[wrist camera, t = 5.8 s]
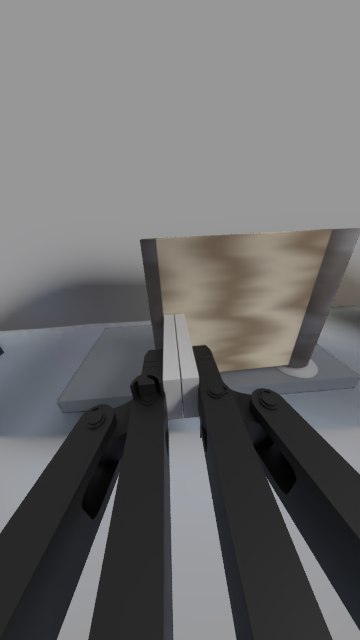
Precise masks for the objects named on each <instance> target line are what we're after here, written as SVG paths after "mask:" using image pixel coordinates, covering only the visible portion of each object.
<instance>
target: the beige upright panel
mask: <svg viewBox="0 0 360 640" xmlns="http://www.w3.org/2000/svg"><path fill="white" fill-rule="evenodd" d="M359 235H360V228H348V229H325V230H324V229H323V230H309V231H290V232H269V233H250V234H231V235H211V236H192V237H174V238H154V239H141V240H140V243H141V251H142V258H143V265H144V272H145V280H146V287H147V293H148V300H149V308H150V315H151V323H152V330H153V337H154V344H155V350H156V349H163V346H164V315H172V314H174V321H175V314H184V315H185V319H186V323H187V328H188V332H189V336H190V340H191V345H192V346H198V345H206V346H207V347H208V348H209V349H211V352H212V354H213V357H214V360H215V362H216V365H217V367H218V370H219V372H225V371H234V370H244V369H253V368H263V367H273V366H282V365H290V366H292V367H297V368H303V367H306V366H307V365H308V363H309V361H310V358H311V356H312V353H313V350H314V348H315V345H316V343H317V340H318V338H319V335H320V333H321V330H322V328H323V325H324V323H325V320H326V318H327V315H328V313H329V310H330V308H331V305H332V303H333V300H334V298H335V295H336V293H337V290H338V288H339V285H340V283H341V280H342V277H343V275H344V273H345V270H346V267H347V265H348V263H349V260H350V258H351V255H352V253H353V250H354V247H355V245H356V243H357V240H358V237H359ZM175 331H176V329H175Z"/></svg>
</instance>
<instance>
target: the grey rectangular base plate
mask: <svg viewBox="0 0 360 640" xmlns="http://www.w3.org/2000/svg"><path fill="white" fill-rule="evenodd" d="M148 350H155V344H154V337H153V330H152V325H146V326H132V327H118V328H105V330H104V331H103V333H102V334H101V336H100V337H99V339H98V340H97V342H96V343H95V345H94V346H93V348H92V350H91V351H90V353H89V354H88V356H87V357H86V359H85V360H84V362H83V363H82V365H81V366H80V368H79V369H78V371H77V372H76V374H75V375H74V377H73V378H72V380H71V381H70V383H69V384H68V386H67V388H66V389H65V391H64V392H63V394H62V395H61V397H60V398H59V400H58V401H57V403H58V405H59V407H60V408H61V410H62V412H63V413H68V412H79V411H88V410H89V409H90V408H92V407H94V406H97V405H99V404H107V405H109V406H111V407H112V409H113V408H115V407H118V406H121V405H123V404H125V403H127V402H129V401H130V400H132V399H133V397H132V393H131V389H130V385H131V382H132V381H133V380H134V379H135V378H136V377H137V376H139V375H141V373H142V368H143V363H144V356H145V354H146V353H147V352H148ZM220 375H221V378H222V380H223V382H224V383H225V384H226V385H227V386H228V387H229V388H230V389H232V390H234V391H236V392H240V393H245V394H251V395H252V392H253V391H254V390H256V389H259V388H265V389H270V390H272V391H274V392H276V393H277V394H287V393H299V392H310V391H322V390H333V389H345V388H354V387H355V385H356V384H357V382H358V380H359V379H360V376H359V375H358V374H357V373H355V372H354V371H353V370H351V369H350V368H349V367H347V366H346V365H345V364H343V363H342V362H341V361H339V360H338V359H337V358H335V357H334V356H333V355H331V354H330V353H328V352H327V351H326V350H324V349H323V348H322V347H320V346H319V345H318V344H316V345H315V348H314V350H313V353H312V356H311V358H310V361H309V363H308V365H307V366H306V367H303V368H297V367H292V366H290V365H282V366H273V367H263V368H253V369H244V370H234V371H225V372H220ZM181 397H182V394H181Z"/></svg>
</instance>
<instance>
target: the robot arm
mask: <svg viewBox="0 0 360 640" xmlns="http://www.w3.org/2000/svg"><path fill="white" fill-rule="evenodd" d="M175 329H176V331H175ZM130 389H131V393H132V397H133V399H132V400H130V401H129V402H127V403H125V404H123V405H121V406H118V407H115V408H113V409H112V407H111V406H109V405H107V404H99V405H97V406H94V407H92V408H90V409H89V410H88V411H86V412H85V413H84V414H83V416H82V417H81V418H80V419H79V421H78V422H77V424H76V425H75V427H74V428H73V430H72V431H71V432H70V434H69V435H68V437H67V438H66V440H65V441H64V443H63V444H62V445H61V447H60V448H59V450H58V451H57V453H56V454H55V455H54V457H53V459H52V460H51V461H50V463H49V464H48V465H47V467H46V468H45V470H44V471H43V473H42V474H41V476H40V477H39V479H38V480H37V481H36V483H35V484H34V486H33V487H32V489H31V490H30V491H29V493H28V494H27V496H26V497H25V499H24V500H23V501H22V503H21V504H20V506H19V507H18V509H17V510H16V512H15V513H14V515H13V516H12V517H11V519H10V520H9V522H8V523H7V525H6V526H5V527H4V529H3V530H2V532H1V533H0V640H57V637H58V634H59V632H60V629H61V626H62V624H63V621H64V619H65V616H66V613H67V610H68V608H69V605H70V603H71V600H72V597H73V595H74V592H75V589H76V587H77V584H78V581H79V579H80V576H81V573H82V570H83V568H84V565H85V563H86V560H87V557H88V555H89V552H90V549H91V546H92V544H93V541H94V539H95V536H96V533H97V531H98V528H99V526H100V523H101V520H102V517H103V515H104V512H105V510H106V507H107V504H108V501H109V499H110V496H111V494H112V491H113V488H114V486H115V483H116V480H117V478H118V475H119V479H118V484H117V490H116V495H115V500H114V506H113V511H112V517H111V522H110V527H109V532H108V538H107V543H106V548H105V554H104V559H103V564H102V570H101V575H100V581H99V586H98V592H97V597H96V602H95V608H94V613H93V618H92V623H91V629H90V634H89V639H88V640H173V610H172V564H171V522H170V521H171V520H170V519H171V518H170V472H169V431H168V420H170V419H180V418H183V414H184V418H190V417H199V416H200V438H202V441H203V446H204V452H205V458H206V464H207V470H208V475H209V482H210V487H211V493H212V499H213V505H214V511H215V516H216V522H217V528H218V534H219V540H220V545H221V551H222V557H223V563H224V569H225V574H226V580H227V586H228V592H229V598H230V604H231V609H232V614H233V621H234V627H235V633H236V638H237V640H332V637H331V635H330V632H329V630H328V627H327V625H326V623H325V620H324V618H323V615H322V613H321V610H320V608H319V605H318V603H317V600H316V598H315V596H314V593H313V591H312V588H311V586H310V583H309V581H308V578H307V576H306V573H305V571H304V569H303V566H302V564H301V561H300V559H299V556H298V554H297V552H296V549H295V546H294V544H293V542H292V539H291V537H290V534H289V532H288V529H287V527H286V524H285V522H284V520H283V517H282V515H281V512H280V510H279V507H278V505H277V502H276V500H275V497H274V495H273V493H272V490H271V488H270V486H269V483H268V480H269V482H270V484H271V485H272V487H273V489H274V490H275V492H276V494H277V495H278V497H279V499H280V500H281V502H282V503H283V505H284V507H285V508H286V510H287V512H288V513H289V515H290V516H291V518H292V520H293V522H294V523H295V525H296V526H297V528H298V530H299V531H300V533H301V535H302V536H303V538H304V540H305V541H306V543H307V544H308V546H309V548H310V550H311V551H312V553H313V554H314V556H315V558H316V559H317V561H318V563H319V564H320V566H321V568H322V569H323V571H324V573H325V574H326V576H327V577H328V579H329V581H330V582H331V584H332V586H333V587H334V589H335V591H336V592H337V594H338V596H339V597H340V599H341V600H342V602H343V604H344V605H345V607H346V609H347V610H348V612H349V614H350V615H351V617H352V619H353V620H354V622H355V624H356V625H357V627H358V628H359V630H360V474H359V473H358V472H357V471H356V470H354V469H353V467H352V466H351V465H350V464H349V463H348V462H347V461H346V460H344V459H343V457H342V456H341V455H339V454H338V453H337V452H336V451H335V450H334V449H333V448H332V447H331V446H330V445H329V444H328V443H327V442H326V441H325V440H324V439H323V438H322V437H321V436H320V435H319V434H318V433H317V432H316V431H315V430H314V429H313V428H312V427H311V426H310V425H309V424H308V423H307V422H306V421H305V420H304V419H303V418H302V417H301V416H300V415H299V414H298V413H297V412H296V411H295V410H294V409H293V408H292V407H291V406H290V405H289V404H288V403H287V402H286V401H285V400H284V399H283V398H282V397H281V396H280V395H279V394H277V393H276V392H274V391H272V390H270V389H265V388H259V389H256V390H254V391H253V392H252V395H251V394H245V393H240V392H236V391H234V390H232V389H230V388H229V387H228V386H227V385H226V384H225V383H224V382H223V380H222V378H221V375H220V372H219V370H218V367H217V365H216V362H215V360H214V357H213V354H212V352H211V349H209V348H208V347H207V346H206V345H198V346H192V345H191V340H190V336H189V332H188V328H187V323H186V319H185V315H184V314H175V321H174V314H172V315H164V346H163V349H156V350H148V352H147V353H146V354H145V356H144V363H143V368H142V373H141V375H139V376H137V377H136V378H135V379H134V380H133V381H132V382H131V385H130ZM181 394H182V397H181ZM182 404H183V414H182ZM119 472H120V473H119ZM266 477H267V478H266ZM267 479H268V480H267Z"/></svg>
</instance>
